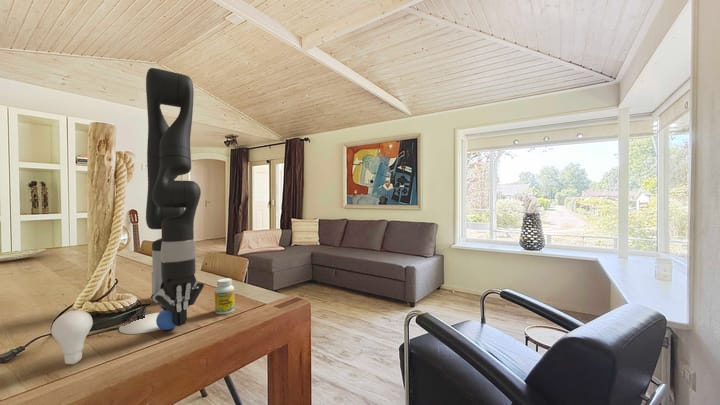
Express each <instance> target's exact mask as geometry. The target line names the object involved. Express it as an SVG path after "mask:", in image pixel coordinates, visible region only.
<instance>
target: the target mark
mask: <svg viewBox="0 0 720 405" xmlns="http://www.w3.org/2000/svg"><path fill="white" fill-rule="evenodd" d="M160 312H161V311H160ZM160 312H154V313H147V314H145V318H143V319H139V320H136V321H133V322H131V323H130V324H127V325H125V326H121V325H120V326H119V328H118V331H119V332H120V333H121V334H124V335H139V334H140V335H141V334H148V333H151V332H156V331H161V329H160V328H159V327H158V326H157V323H156V319H157V316H158V314H159V313H160Z"/></svg>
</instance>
